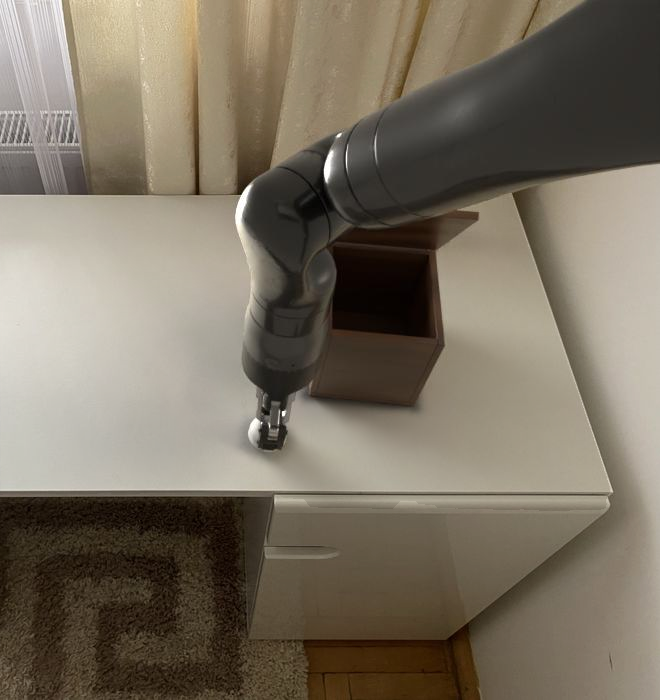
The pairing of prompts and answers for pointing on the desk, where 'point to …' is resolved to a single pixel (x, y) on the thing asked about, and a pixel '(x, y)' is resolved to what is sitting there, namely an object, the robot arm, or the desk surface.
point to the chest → (381, 325)
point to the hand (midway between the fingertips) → (269, 422)
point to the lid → (417, 232)
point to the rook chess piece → (256, 433)
